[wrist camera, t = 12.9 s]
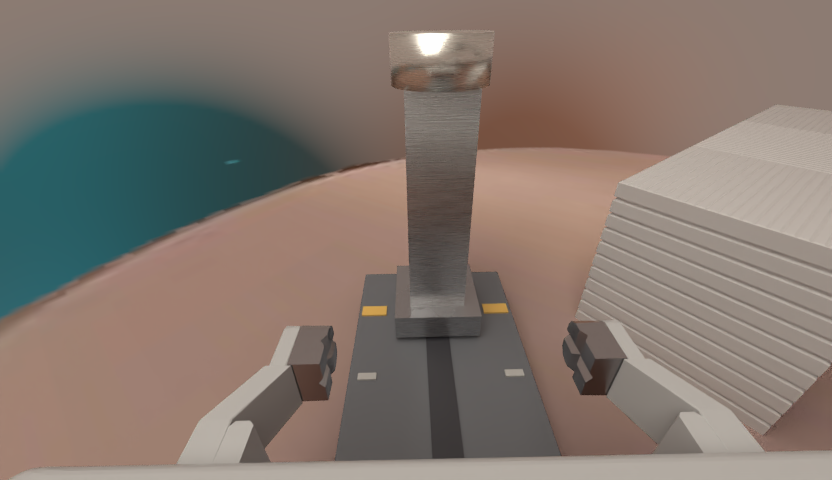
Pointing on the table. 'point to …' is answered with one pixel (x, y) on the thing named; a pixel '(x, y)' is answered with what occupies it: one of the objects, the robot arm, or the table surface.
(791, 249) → the stack of papers
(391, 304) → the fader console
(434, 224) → the lever
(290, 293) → the table surface
